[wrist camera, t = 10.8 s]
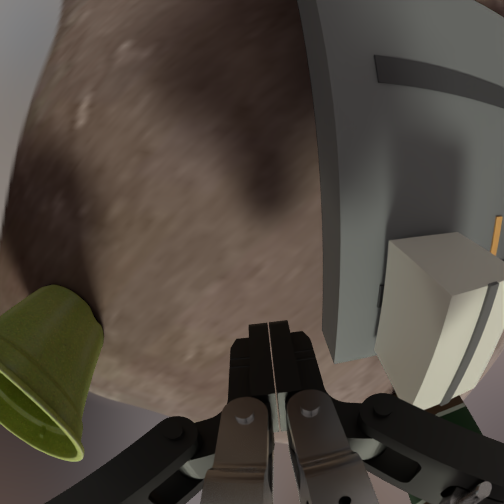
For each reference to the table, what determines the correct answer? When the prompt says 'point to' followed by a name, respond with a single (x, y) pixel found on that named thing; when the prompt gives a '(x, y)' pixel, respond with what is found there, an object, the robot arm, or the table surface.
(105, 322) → the table surface
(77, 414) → the plant pot
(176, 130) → the table surface
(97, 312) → the table surface
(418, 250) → the block
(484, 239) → the fader board
